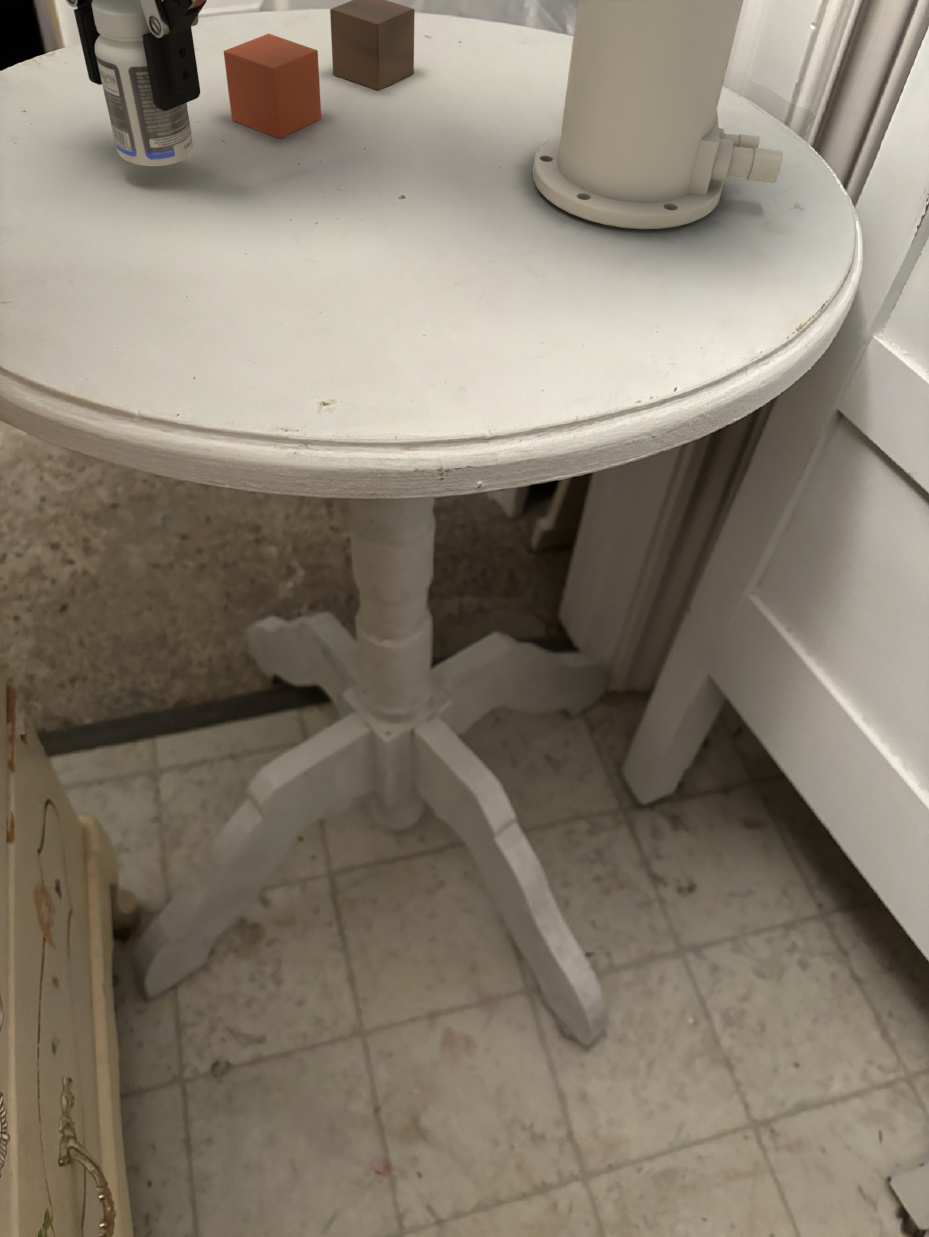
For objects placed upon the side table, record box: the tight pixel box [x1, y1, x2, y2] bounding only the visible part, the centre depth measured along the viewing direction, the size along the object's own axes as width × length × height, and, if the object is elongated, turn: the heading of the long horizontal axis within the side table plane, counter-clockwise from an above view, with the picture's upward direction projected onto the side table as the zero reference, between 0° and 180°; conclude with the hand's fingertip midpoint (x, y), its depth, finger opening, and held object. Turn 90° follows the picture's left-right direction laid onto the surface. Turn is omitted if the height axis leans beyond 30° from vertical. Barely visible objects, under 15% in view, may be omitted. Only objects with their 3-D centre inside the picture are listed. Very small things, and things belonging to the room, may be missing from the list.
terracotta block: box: [223, 33, 322, 139], centre depth 66 cm, size 4×4×4 cm
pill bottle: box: [92, 0, 194, 167], centre depth 57 cm, size 5×5×8 cm
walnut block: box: [329, 0, 416, 91], centre depth 73 cm, size 4×4×4 cm
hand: (144, 87), depth 58 cm, fingers closed on pill bottle, 4 cm apart
